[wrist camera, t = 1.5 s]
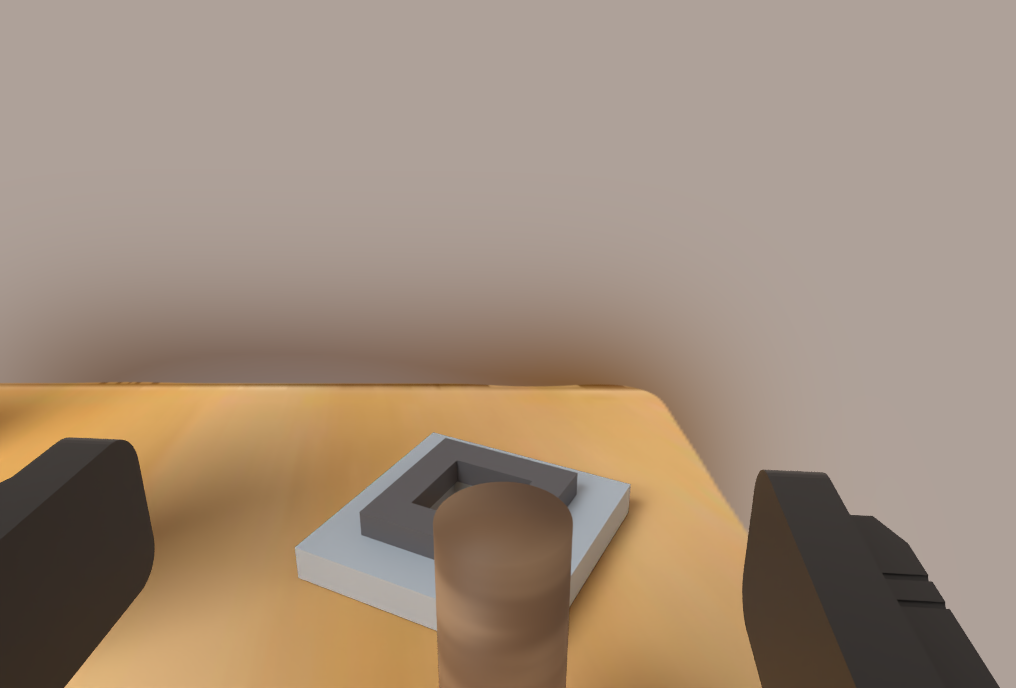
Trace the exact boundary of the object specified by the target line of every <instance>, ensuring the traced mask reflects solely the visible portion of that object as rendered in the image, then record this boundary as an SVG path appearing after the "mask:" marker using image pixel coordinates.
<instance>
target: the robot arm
mask: <svg viewBox="0 0 1016 688" xmlns="http://www.w3.org/2000/svg"><path fill="white" fill-rule="evenodd" d="M153 560H154V538H153V532H152V527H151V522H150V517H149V512H148V507H147V502H146V497H145V491H144V486H143V481H142V476H141V471H140V466H139V461H138V457H137V454H136V451H135V449H134V448H133V446H132V445H131V444H130V443H129V442H127V441H125V440H115V439H93V438H64V439H62V440H60V441H58V442H57V443H56V444H54V445H53V446H52V447H50V448H49V449H48V450H47V451H45V452H44V453H43V454H41V455H40V456H39V457H37V458H36V459H35V460H34V461H32V462H31V463H30V464H28V465H27V466H26V467H25V468H23V469H22V470H21V471H19V472H18V473H17V474H15V475H14V476H13V477H11V478H9V479H7V480H5V481H3V482H1V483H0V688H64V687H65V686H66V685H67V683H68V682H69V681H70V680H71V678H72V677H73V676H74V675H75V673H76V672H77V671H78V670H79V668H80V667H81V666H82V665H83V663H84V662H85V661H86V660H87V658H88V657H89V656H90V655H91V653H92V652H93V651H94V650H95V648H96V647H97V646H98V645H99V643H100V642H101V641H102V640H103V638H104V637H105V636H106V635H107V633H108V632H109V631H110V629H111V628H112V627H113V626H114V624H115V623H116V622H117V621H118V619H119V618H120V617H121V616H122V614H123V613H124V612H125V611H126V609H127V608H128V607H129V606H130V604H131V603H132V602H133V601H134V599H135V598H136V597H137V596H138V594H139V593H140V592H141V590H142V589H143V588H144V586H145V584H146V582H147V580H148V578H149V575H150V572H151V569H152V565H153ZM742 595H743V612H744V620H745V625H746V630H747V633H748V637H749V641H750V644H751V648H752V652H753V655H754V659H755V663H756V666H757V670H758V674H759V677H760V681H761V685H762V688H1000V687H999V686H998V684H997V683H996V681H995V679H994V678H993V676H992V675H991V673H990V672H989V670H988V669H987V667H986V665H985V664H984V662H983V661H982V659H981V658H980V656H979V654H978V653H977V651H976V650H975V648H974V646H973V645H972V644H971V642H970V640H969V639H968V637H967V636H966V634H965V632H964V631H963V629H962V628H961V626H960V625H959V623H958V622H957V620H956V618H955V617H954V615H953V613H952V612H951V610H950V609H946V607H945V601H944V599H943V598H942V596H941V595H940V593H939V591H938V590H937V589H936V587H935V585H934V584H933V582H929V581H928V574H927V573H926V571H925V569H924V568H923V566H922V565H921V563H920V562H919V560H918V559H917V557H916V555H915V554H914V552H913V551H912V549H911V548H910V546H909V544H908V543H907V542H905V541H904V540H903V539H901V538H900V537H899V536H898V535H896V534H895V533H894V532H892V531H891V530H890V529H889V528H887V527H886V526H885V525H883V524H882V523H881V522H880V521H878V520H877V519H876V518H874V517H873V516H859V515H850V514H849V512H848V511H847V509H846V507H845V505H844V504H843V502H842V500H841V498H840V496H839V495H838V493H837V491H836V489H835V487H834V485H833V484H832V482H831V480H830V478H829V477H828V476H827V474H825V473H822V472H801V471H778V470H761V471H760V472H759V474H758V476H757V479H756V483H755V489H754V496H753V505H752V512H751V519H750V527H749V534H748V542H747V550H746V557H745V565H744V573H743V588H742Z"/></svg>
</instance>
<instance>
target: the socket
mask: <svg viewBox="0 0 1016 688" xmlns="http://www.w3.org/2000/svg"><path fill="white" fill-rule="evenodd" d="M490 482H516V483H523V484H528V485H532V486H535V487H538V488H541V489H543V490H546V491H548V492H550V493H551V494H553V495H555V496H556V497H558V498H559V499H560V500H561V501H562V502H563V503H564V504H565V505H566V506H567V507H568V509H569V511H570V512H571V515H572V519H573V536H572V559H571V581H570V603H569V607H570V606H571V604H572V602H573V601H574V599H575V598H576V596H577V594H578V593H579V591H580V589H581V588H582V586H583V585H584V583H585V581H586V580H587V578H588V577H589V575H590V573H591V572H592V570H593V568H594V567H595V565H596V564H597V562H598V560H599V559H600V557H601V556H602V554H603V552H604V551H605V549H606V547H607V546H608V544H609V543H610V541H611V539H612V538H613V536H614V535H615V533H616V531H617V530H618V528H619V526H620V525H621V523H622V522H623V520H624V518H625V517H626V515H627V514H628V511H629V498H630V485H631V484H627V483H623V482H619V481H616V480H612V479H608V478H604V477H600V476H597V475H593V474H589V473H585V472H581V471H578V470H574V469H570V468H566V467H562V466H559V465H555V464H551V463H547V462H543V461H540V460H536V459H532V458H528V457H524V456H521V455H517V454H513V453H509V452H505V451H502V450H498V449H494V448H490V447H486V446H483V445H479V444H475V443H471V442H467V441H464V440H460V439H456V438H452V437H448V436H445V435H441V434H437V433H432V434H431V435H429V436H428V437H427V438H426V439H425V440H423V441H422V442H421V443H420V444H419V445H417V446H416V447H415V448H414V449H413V450H411V451H410V452H409V453H408V454H407V455H405V456H404V457H403V458H402V459H401V460H399V461H398V462H397V463H396V464H395V465H393V466H392V467H391V468H390V469H389V470H387V471H386V472H385V473H384V474H383V475H381V476H380V477H379V478H378V479H377V480H375V481H374V482H373V483H372V484H371V485H369V486H368V487H367V488H366V489H365V490H363V491H362V492H361V493H360V494H359V495H357V496H356V497H355V498H354V499H353V500H351V501H350V502H349V503H348V504H347V505H345V506H344V507H343V508H342V509H340V510H339V511H338V512H337V513H336V514H334V515H333V516H332V517H331V518H330V519H328V520H327V521H326V522H325V523H324V524H322V525H321V526H320V527H319V528H318V529H316V530H315V531H314V532H313V533H312V534H310V535H309V536H308V537H307V538H306V539H304V540H303V541H302V542H301V543H300V544H298V545H297V546H296V547H295V554H296V562H297V570H298V578H300V579H303V580H306V581H308V582H311V583H313V584H316V585H319V586H321V587H324V588H326V589H329V590H332V591H334V592H337V593H339V594H342V595H345V596H347V597H350V598H352V599H355V600H358V601H360V602H363V603H365V604H368V605H371V606H373V607H376V608H379V609H381V610H384V611H386V612H389V613H392V614H394V615H397V616H399V617H402V618H405V619H407V620H410V621H412V622H415V623H418V624H420V625H423V626H425V627H428V628H431V629H433V630H436V631H437V616H436V590H435V564H434V538H433V518H434V515H435V512H436V510H437V509H438V507H439V506H440V505H441V504H442V502H443V501H445V500H446V499H447V498H448V497H450V496H451V495H453V494H454V493H456V492H458V491H460V490H462V489H465V488H467V487H471V486H474V485H478V484H483V483H490Z"/></svg>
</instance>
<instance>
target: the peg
mask: <svg viewBox="0 0 1016 688" xmlns="http://www.w3.org/2000/svg"><path fill="white" fill-rule="evenodd" d="M572 536H573V519H572V515H571V512H570V511H569V509H568V507H567V506H566V505H565V504H564V503H563V502H562V501H561V500H560V499H559V498H558V497H556V496H555V495H553V494H551V493H550V492H548V491H546V490H543V489H541V488H538V487H535V486H532V485H528V484H523V483H516V482H490V483H483V484H478V485H474V486H471V487H467V488H465V489H462V490H460V491H458V492H456V493H454V494H453V495H451V496H450V497H448V498H447V499H446V500H445V501H443V502H442V504H441V505H440V506H439V507H438V509H437V510H436V512H435V515H434V518H433V538H434V564H435V590H436V616H437V642H438V668H439V688H566V671H567V648H568V626H569V603H570V581H571V559H572Z"/></svg>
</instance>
